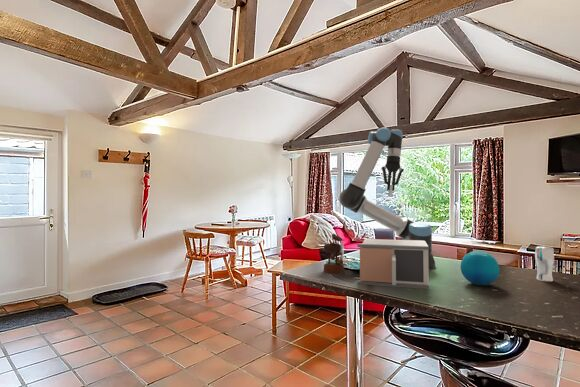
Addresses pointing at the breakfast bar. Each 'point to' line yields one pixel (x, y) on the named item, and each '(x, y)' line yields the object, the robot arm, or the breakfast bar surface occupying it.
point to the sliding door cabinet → (404, 262)
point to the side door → (377, 265)
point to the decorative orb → (479, 268)
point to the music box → (333, 248)
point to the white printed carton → (544, 263)
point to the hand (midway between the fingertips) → (389, 196)
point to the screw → (342, 252)
